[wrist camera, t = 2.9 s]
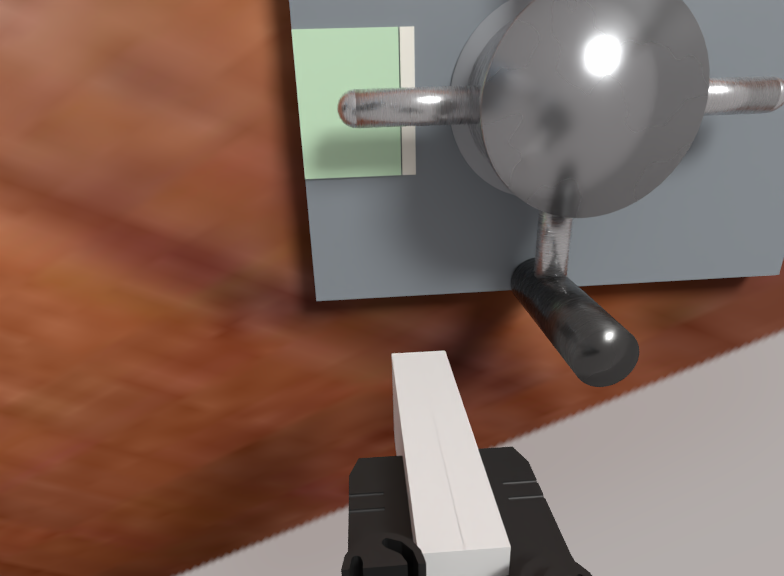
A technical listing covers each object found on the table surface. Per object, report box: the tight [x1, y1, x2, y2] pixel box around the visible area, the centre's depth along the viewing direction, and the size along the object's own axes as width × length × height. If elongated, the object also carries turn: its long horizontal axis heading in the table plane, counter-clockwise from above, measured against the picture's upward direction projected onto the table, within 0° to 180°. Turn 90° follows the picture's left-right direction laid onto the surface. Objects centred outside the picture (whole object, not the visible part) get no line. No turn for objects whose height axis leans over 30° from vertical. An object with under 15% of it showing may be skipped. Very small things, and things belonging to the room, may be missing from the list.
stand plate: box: [289, 0, 784, 301], centre depth 20 cm, size 20×13×1 cm, turn 92°
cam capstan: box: [337, 0, 784, 387], centre depth 16 cm, size 15×17×7 cm
